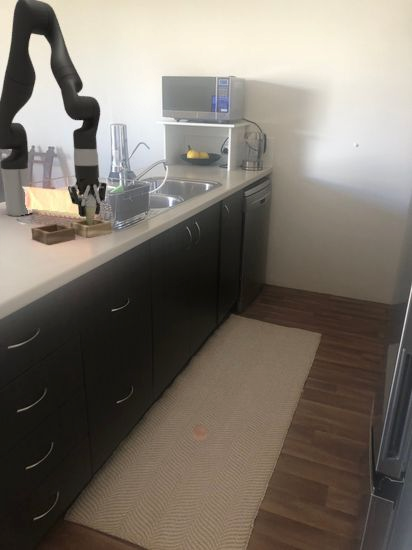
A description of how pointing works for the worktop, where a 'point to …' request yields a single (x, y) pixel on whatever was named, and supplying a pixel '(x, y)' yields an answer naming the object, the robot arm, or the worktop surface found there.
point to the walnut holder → (53, 233)
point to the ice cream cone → (90, 209)
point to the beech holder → (91, 228)
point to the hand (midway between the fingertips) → (89, 215)
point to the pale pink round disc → (200, 432)
